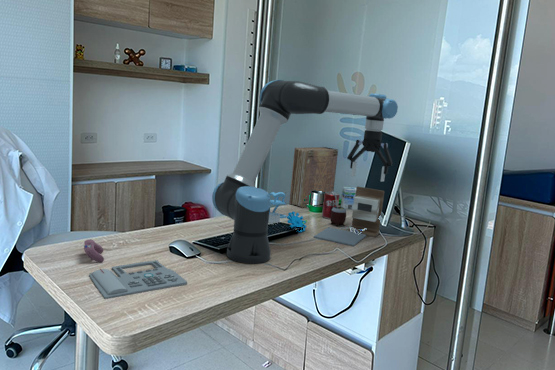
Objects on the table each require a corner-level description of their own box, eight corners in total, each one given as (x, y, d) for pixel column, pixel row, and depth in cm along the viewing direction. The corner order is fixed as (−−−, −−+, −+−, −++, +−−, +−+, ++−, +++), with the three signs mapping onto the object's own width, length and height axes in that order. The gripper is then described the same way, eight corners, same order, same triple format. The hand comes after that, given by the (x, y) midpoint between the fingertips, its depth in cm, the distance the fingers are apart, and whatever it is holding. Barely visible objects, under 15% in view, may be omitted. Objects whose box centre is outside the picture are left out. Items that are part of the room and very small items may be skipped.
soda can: (319, 215, 231) (322, 191, 229) (333, 215, 233) (335, 191, 231) (325, 219, 224) (328, 194, 222) (339, 219, 226) (342, 195, 224)
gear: (293, 230, 194) (285, 209, 199) (284, 237, 198) (277, 217, 203) (312, 231, 201) (304, 211, 206) (303, 238, 205) (296, 218, 210)
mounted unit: (374, 237, 201) (380, 193, 198) (347, 231, 206) (352, 188, 203) (379, 233, 208) (384, 190, 205) (353, 228, 213) (358, 186, 210)
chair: (276, 213, 228) (278, 189, 226) (286, 217, 221) (288, 192, 219) (263, 214, 223) (265, 189, 221) (273, 218, 217) (275, 193, 214)
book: (302, 208, 242) (307, 150, 237) (288, 204, 249) (294, 147, 243) (332, 203, 261) (338, 149, 255) (319, 199, 267) (324, 147, 261)
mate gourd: (344, 227, 212) (348, 195, 210) (327, 225, 214) (330, 193, 211) (345, 223, 220) (348, 192, 217) (328, 221, 221) (331, 190, 218)
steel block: (274, 224, 207) (275, 216, 207) (264, 222, 209) (265, 213, 209) (279, 222, 212) (280, 213, 211) (269, 220, 214) (270, 211, 213)
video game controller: (91, 257, 154) (80, 239, 152) (104, 250, 155) (94, 232, 153) (90, 268, 145) (80, 249, 143) (105, 261, 146) (94, 242, 144)
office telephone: (105, 292, 122) (83, 266, 137) (105, 302, 122) (83, 275, 138) (188, 277, 135) (160, 255, 151) (187, 286, 136) (159, 263, 152)
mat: (353, 246, 186) (353, 245, 186) (313, 237, 193) (313, 236, 193) (366, 236, 202) (366, 234, 202) (328, 228, 209) (328, 227, 209)
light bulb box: (342, 209, 250) (345, 188, 248) (340, 206, 256) (342, 186, 254) (362, 210, 251) (365, 190, 249) (359, 207, 257) (361, 187, 255)
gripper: (404, 133, 201) (397, 182, 205) (350, 127, 214) (344, 173, 217) (399, 133, 195) (392, 184, 199) (343, 127, 207) (337, 174, 211)
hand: (367, 178), depth 208 cm, fingers open, 13 cm apart
